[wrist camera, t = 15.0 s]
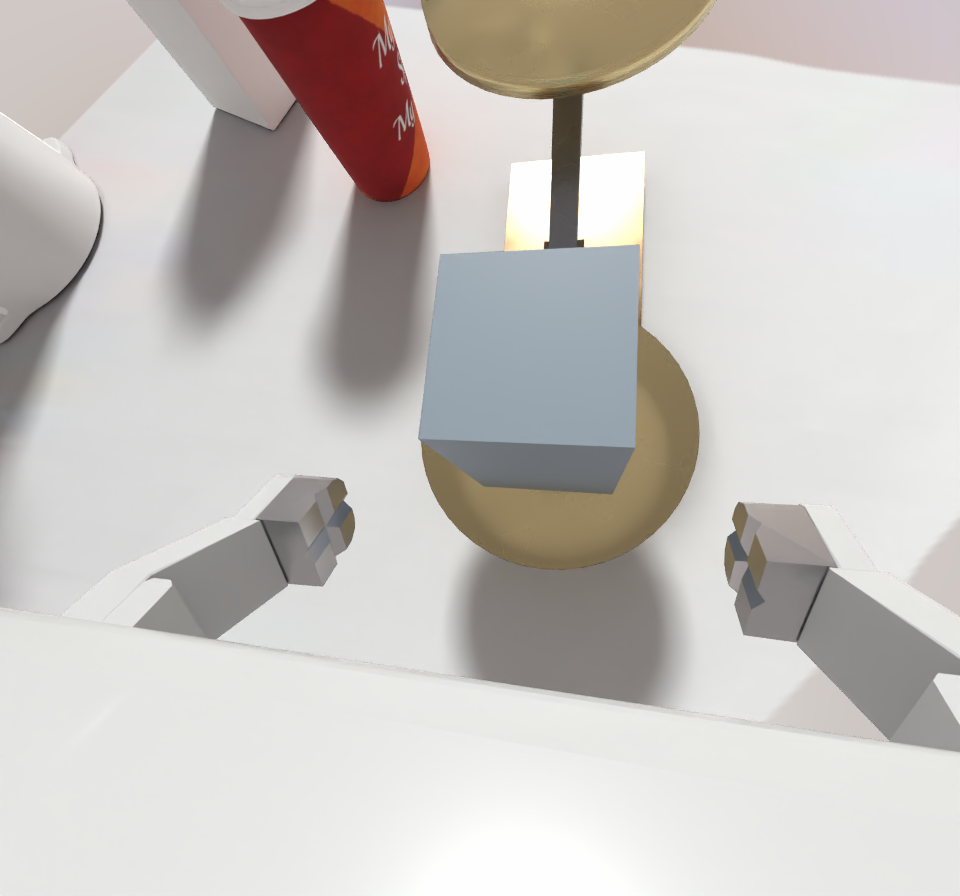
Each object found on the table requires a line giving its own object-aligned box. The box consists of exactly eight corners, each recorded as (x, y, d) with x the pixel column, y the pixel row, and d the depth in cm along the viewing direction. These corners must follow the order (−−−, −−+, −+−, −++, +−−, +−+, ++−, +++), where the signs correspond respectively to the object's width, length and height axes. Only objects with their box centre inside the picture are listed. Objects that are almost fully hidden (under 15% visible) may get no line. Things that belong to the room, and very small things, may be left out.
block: (483, 486, 19) (418, 438, 11) (494, 369, 20) (440, 254, 12) (612, 494, 18) (635, 447, 10) (616, 370, 19) (639, 244, 11)
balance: (456, 556, 27) (334, 554, 14) (495, 151, 32) (436, -128, 19) (663, 576, 24) (759, 598, 11) (667, 135, 30) (734, -198, 17)
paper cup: (464, 173, 32) (381, -96, 19) (370, 235, 33) (226, 15, 20) (413, 104, 35) (307, -179, 21) (326, 163, 35) (170, -78, 22)
